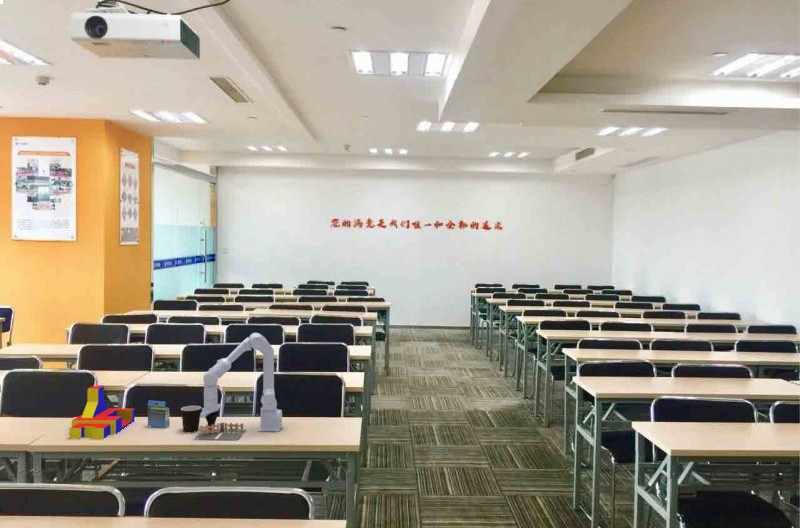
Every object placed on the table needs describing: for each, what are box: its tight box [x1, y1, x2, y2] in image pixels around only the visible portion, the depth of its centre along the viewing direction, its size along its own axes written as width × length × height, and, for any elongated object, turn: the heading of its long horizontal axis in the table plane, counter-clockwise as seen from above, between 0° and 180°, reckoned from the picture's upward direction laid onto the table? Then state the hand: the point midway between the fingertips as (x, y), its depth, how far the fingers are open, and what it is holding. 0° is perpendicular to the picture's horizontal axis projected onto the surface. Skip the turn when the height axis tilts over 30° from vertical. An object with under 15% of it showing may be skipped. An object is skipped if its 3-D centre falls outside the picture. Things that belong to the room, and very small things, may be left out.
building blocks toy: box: [69, 385, 136, 440], centre depth 257 cm, size 19×25×18 cm
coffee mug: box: [180, 405, 202, 433], centre depth 260 cm, size 12×9×10 cm
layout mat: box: [194, 428, 247, 441], centre depth 252 cm, size 19×14×1 cm
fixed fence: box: [219, 422, 244, 433], centre depth 255 cm, size 10×2×4 cm, turn 90°
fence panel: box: [199, 422, 220, 435], centre depth 252 cm, size 8×1×4 cm, turn 119°
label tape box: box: [147, 400, 171, 428], centre depth 263 cm, size 9×4×12 cm, turn 82°
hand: (211, 429), depth 254 cm, fingers closed, pressing on fence panel
